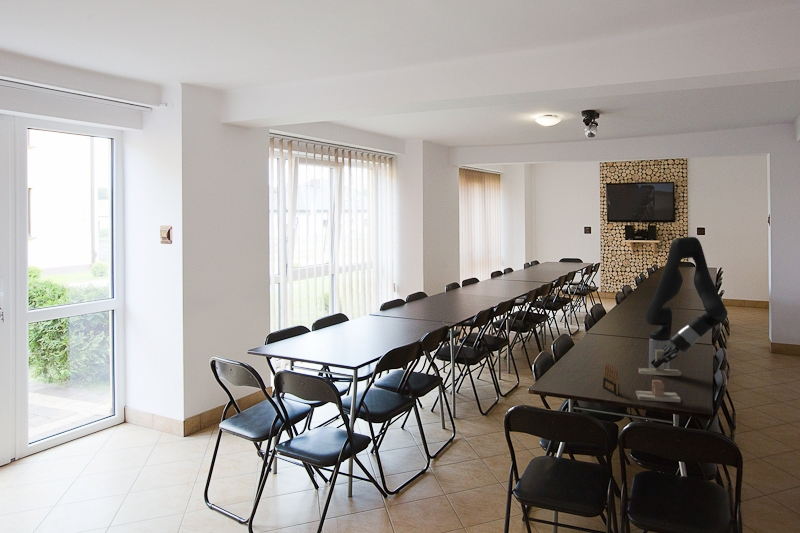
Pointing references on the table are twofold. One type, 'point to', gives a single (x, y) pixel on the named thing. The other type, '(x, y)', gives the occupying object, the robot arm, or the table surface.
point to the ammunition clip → (611, 379)
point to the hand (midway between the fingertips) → (653, 365)
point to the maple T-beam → (660, 369)
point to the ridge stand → (658, 393)
